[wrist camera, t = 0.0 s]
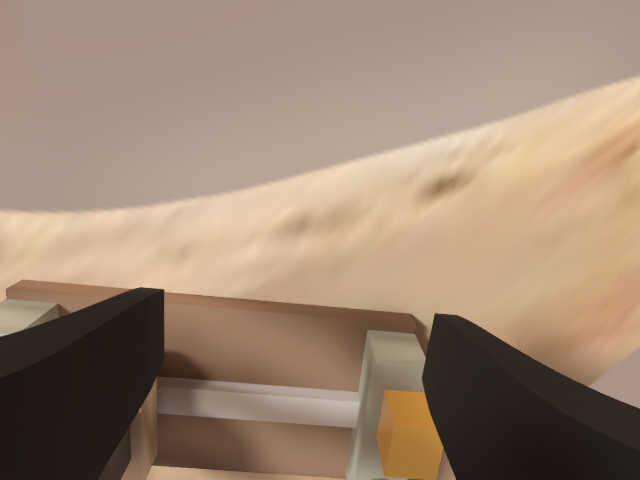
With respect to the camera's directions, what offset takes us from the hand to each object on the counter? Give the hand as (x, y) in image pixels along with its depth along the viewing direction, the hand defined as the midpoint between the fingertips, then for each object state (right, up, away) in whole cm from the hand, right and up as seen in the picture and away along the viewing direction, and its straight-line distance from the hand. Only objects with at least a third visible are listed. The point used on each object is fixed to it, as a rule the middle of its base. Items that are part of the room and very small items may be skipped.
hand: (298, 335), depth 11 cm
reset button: (+4, -5, +6) cm, 9 cm away
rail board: (-5, -5, +12) cm, 14 cm away
